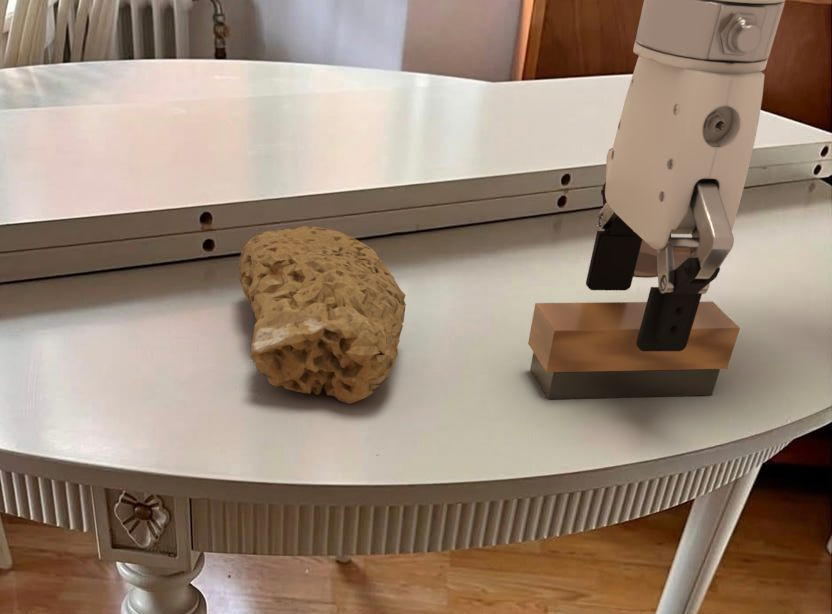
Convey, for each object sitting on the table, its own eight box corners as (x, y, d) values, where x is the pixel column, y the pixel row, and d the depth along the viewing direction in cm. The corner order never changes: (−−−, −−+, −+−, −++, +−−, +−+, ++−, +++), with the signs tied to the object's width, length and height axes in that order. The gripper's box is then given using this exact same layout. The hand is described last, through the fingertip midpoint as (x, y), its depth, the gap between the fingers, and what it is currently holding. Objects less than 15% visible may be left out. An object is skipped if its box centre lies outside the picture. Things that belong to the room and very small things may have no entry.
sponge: (403, 429, 66) (420, 260, 79) (389, 330, 60) (409, 164, 73) (214, 439, 69) (259, 273, 81) (182, 345, 63) (236, 181, 75)
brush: (693, 366, 73) (712, 301, 70) (718, 395, 70) (740, 327, 67) (523, 369, 71) (535, 302, 68) (541, 399, 68) (554, 330, 65)
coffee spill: (691, 239, 95) (691, 238, 95) (732, 276, 88) (733, 275, 88) (580, 239, 93) (580, 238, 93) (613, 277, 86) (614, 275, 86)
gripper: (845, 68, 51) (740, 376, 62) (703, 6, 64) (637, 269, 75) (708, 61, 50) (625, 377, 60) (592, 0, 63) (541, 268, 74)
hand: (632, 317), depth 68 cm, fingers open, 9 cm apart
